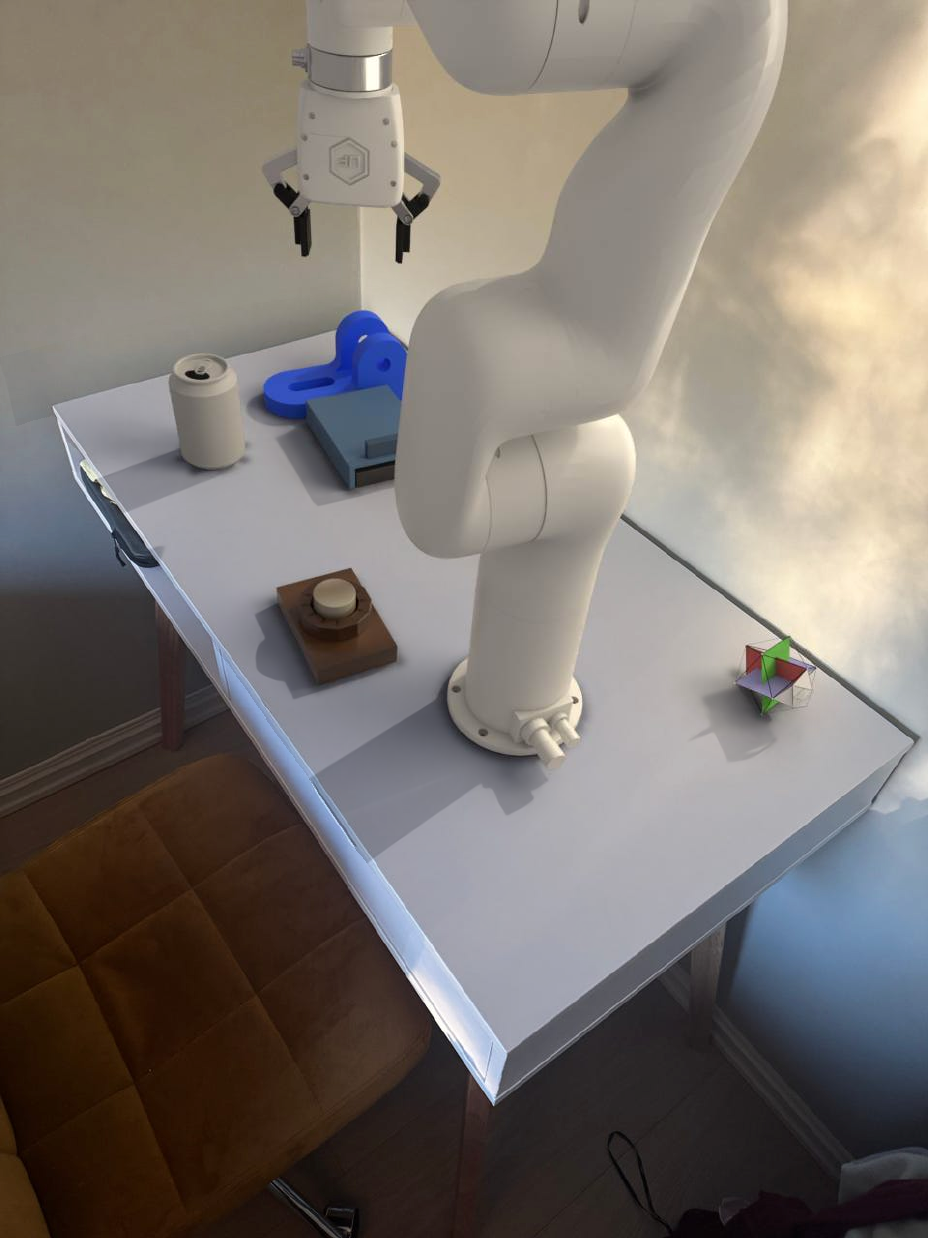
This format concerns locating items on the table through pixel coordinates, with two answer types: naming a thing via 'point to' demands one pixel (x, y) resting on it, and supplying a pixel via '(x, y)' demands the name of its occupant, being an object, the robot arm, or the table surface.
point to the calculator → (375, 473)
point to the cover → (356, 428)
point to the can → (207, 411)
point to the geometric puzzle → (777, 676)
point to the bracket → (342, 367)
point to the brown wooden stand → (336, 631)
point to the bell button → (334, 599)
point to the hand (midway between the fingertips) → (353, 254)
